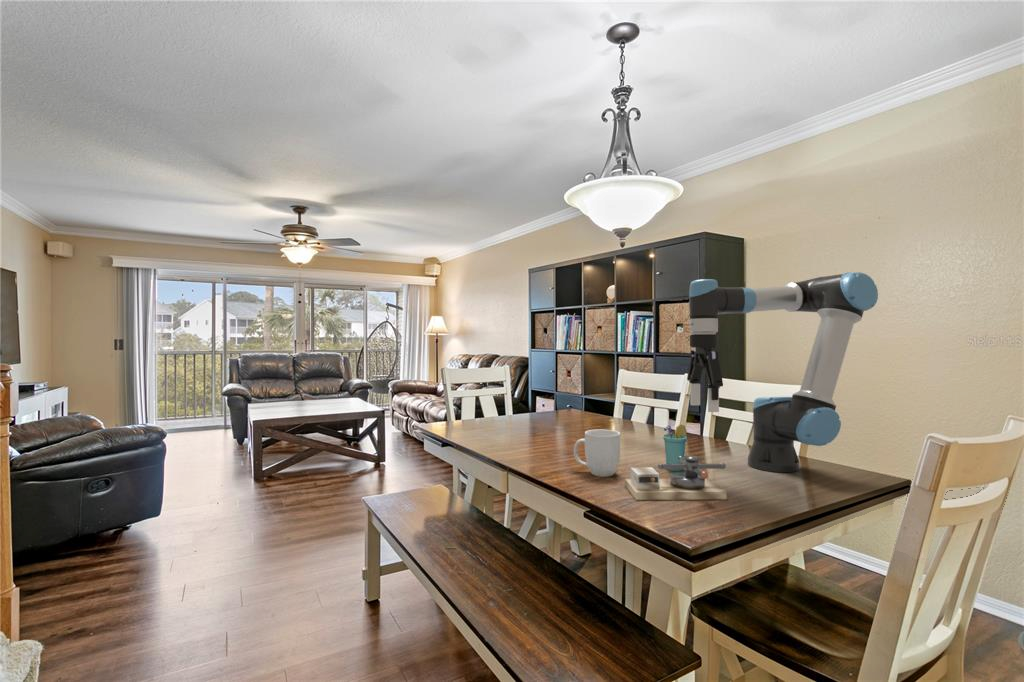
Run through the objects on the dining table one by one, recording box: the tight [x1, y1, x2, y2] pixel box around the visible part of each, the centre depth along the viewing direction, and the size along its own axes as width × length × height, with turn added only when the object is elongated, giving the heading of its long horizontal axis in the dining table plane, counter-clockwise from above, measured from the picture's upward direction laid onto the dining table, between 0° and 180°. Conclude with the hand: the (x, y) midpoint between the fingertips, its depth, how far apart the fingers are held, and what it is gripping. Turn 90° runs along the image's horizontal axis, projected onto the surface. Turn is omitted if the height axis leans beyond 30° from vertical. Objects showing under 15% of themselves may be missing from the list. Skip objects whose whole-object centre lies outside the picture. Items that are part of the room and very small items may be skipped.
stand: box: [624, 466, 728, 501], centre depth 134 cm, size 24×12×6 cm, turn 91°
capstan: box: [657, 454, 727, 489], centre depth 134 cm, size 19×19×7 cm
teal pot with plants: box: [662, 424, 688, 472], centre depth 157 cm, size 14×8×15 cm, turn 140°
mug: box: [573, 428, 621, 478], centre depth 153 cm, size 15×11×13 cm
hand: (704, 408), depth 140 cm, fingers open, 12 cm apart
